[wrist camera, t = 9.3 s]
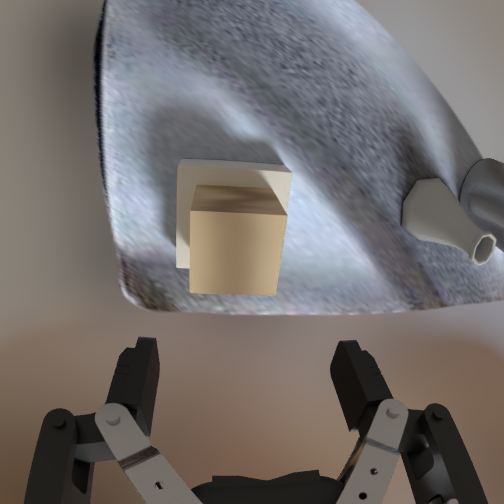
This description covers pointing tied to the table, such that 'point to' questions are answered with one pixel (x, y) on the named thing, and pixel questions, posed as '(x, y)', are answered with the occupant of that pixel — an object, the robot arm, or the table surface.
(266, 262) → the oak block
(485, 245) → the flask
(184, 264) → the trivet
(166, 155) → the table surface
